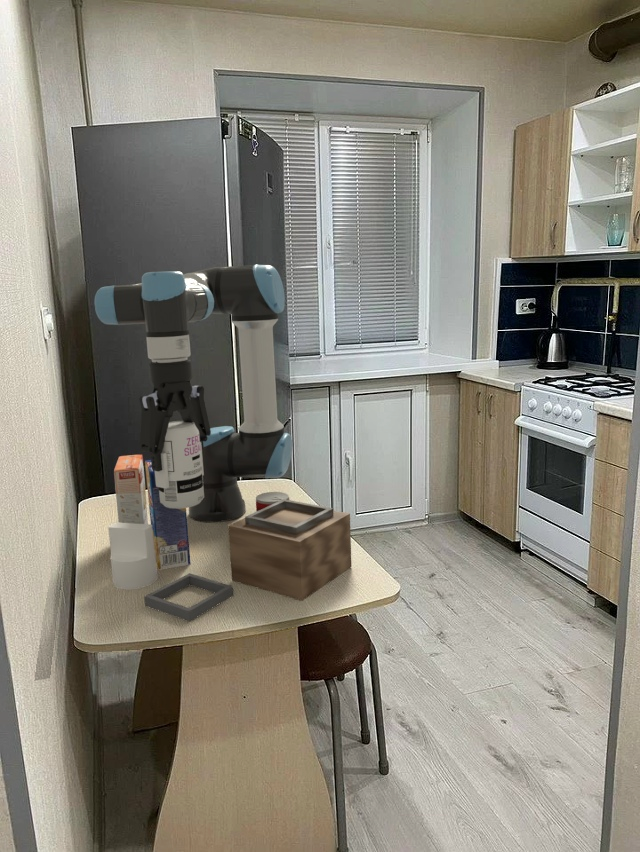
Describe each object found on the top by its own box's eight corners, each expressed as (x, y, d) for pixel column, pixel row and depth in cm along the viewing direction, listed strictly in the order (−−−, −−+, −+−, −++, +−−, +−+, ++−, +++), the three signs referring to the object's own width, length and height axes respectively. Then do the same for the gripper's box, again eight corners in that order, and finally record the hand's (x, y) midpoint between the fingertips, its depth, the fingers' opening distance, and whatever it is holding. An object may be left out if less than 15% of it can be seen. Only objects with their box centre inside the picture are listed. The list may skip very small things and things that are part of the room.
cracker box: (148, 555, 150) (139, 467, 146) (121, 558, 149) (111, 470, 145) (150, 534, 164) (143, 453, 160) (125, 536, 163) (117, 455, 159)
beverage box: (183, 547, 155) (175, 456, 150) (190, 564, 145) (182, 468, 140) (153, 552, 152) (144, 460, 148) (159, 570, 142) (150, 472, 138)
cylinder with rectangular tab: (104, 587, 135) (98, 532, 132) (128, 569, 143) (122, 517, 141) (143, 591, 132) (138, 535, 130) (165, 572, 141) (160, 519, 138)
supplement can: (163, 497, 127) (156, 421, 124) (206, 494, 128) (200, 419, 125) (156, 511, 119) (149, 430, 116) (202, 508, 120) (196, 428, 117)
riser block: (284, 550, 150) (281, 494, 147) (351, 566, 140) (349, 506, 137) (231, 580, 136) (227, 518, 133) (302, 600, 126) (299, 534, 123)
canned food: (287, 547, 152) (284, 502, 150) (254, 545, 154) (251, 501, 152) (294, 535, 160) (292, 492, 157) (263, 533, 161) (260, 491, 159)
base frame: (190, 582, 136) (189, 573, 135) (233, 595, 129) (233, 586, 129) (145, 605, 126) (144, 596, 126) (189, 621, 119) (188, 611, 119)
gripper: (138, 367, 107) (151, 499, 112) (225, 353, 124) (233, 469, 129) (108, 365, 112) (122, 493, 116) (196, 352, 128) (205, 464, 133)
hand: (180, 480), depth 123 cm, fingers closed on supplement can, 8 cm apart
